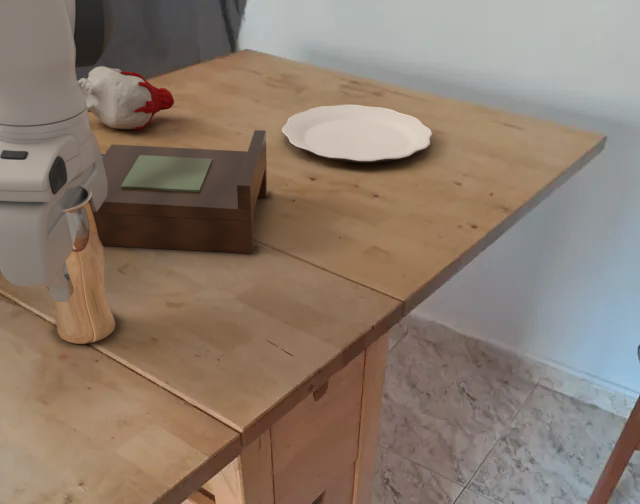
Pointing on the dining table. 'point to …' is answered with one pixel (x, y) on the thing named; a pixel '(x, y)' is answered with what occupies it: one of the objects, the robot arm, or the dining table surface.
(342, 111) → the plate
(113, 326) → the beer glass
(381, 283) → the dining table surface
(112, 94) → the white irregular lump
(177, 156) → the shelf
